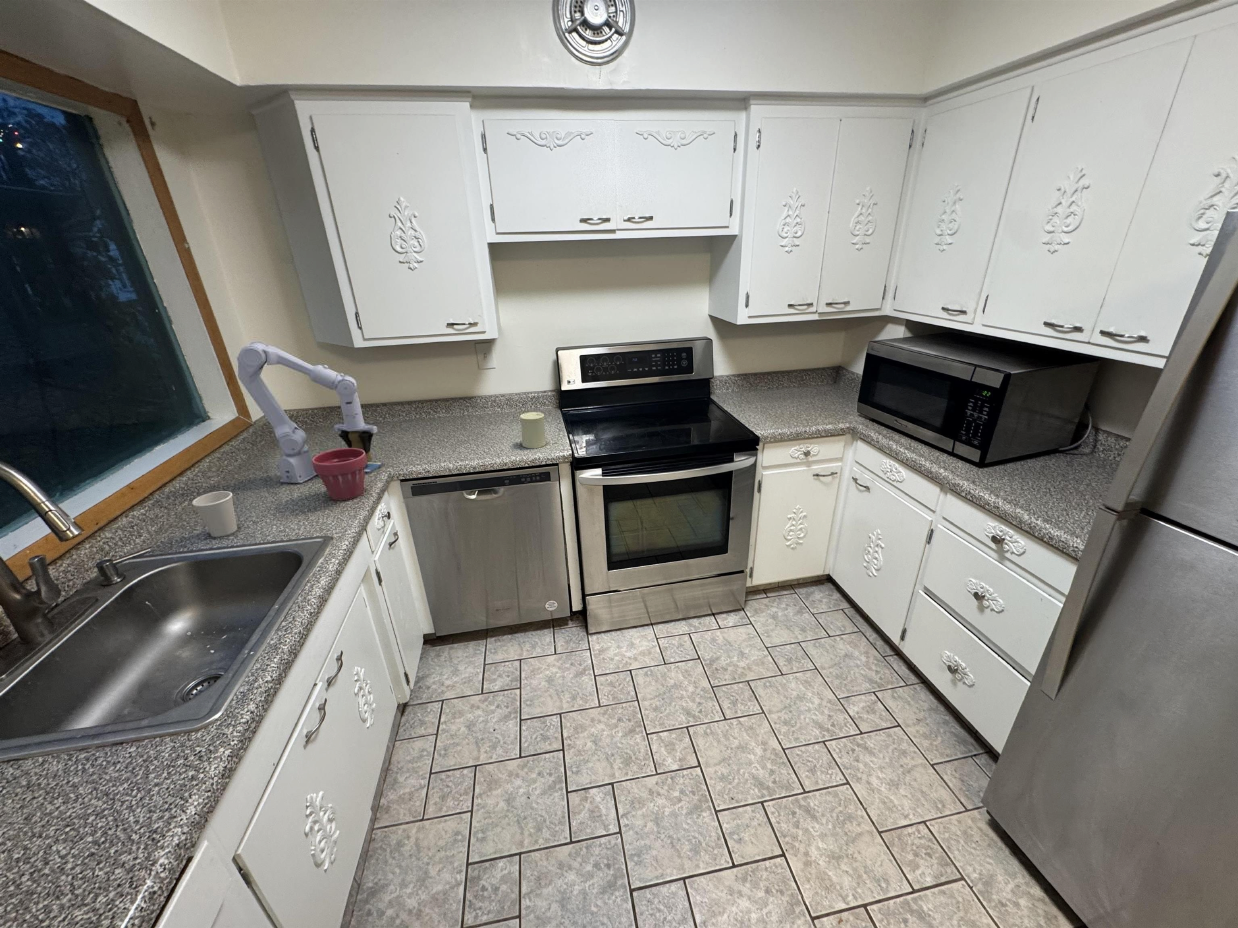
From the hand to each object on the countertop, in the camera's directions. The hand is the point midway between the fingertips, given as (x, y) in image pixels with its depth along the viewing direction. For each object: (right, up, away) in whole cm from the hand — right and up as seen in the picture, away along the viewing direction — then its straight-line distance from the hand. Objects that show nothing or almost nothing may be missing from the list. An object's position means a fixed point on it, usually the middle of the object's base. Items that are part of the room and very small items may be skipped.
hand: (360, 451), depth 172 cm
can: (+55, +3, +23) cm, 60 cm away
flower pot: (+5, -14, -17) cm, 22 cm away
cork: (0, -3, +1) cm, 4 cm away
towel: (0, -6, +2) cm, 6 cm away
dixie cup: (-17, -22, -38) cm, 47 cm away
